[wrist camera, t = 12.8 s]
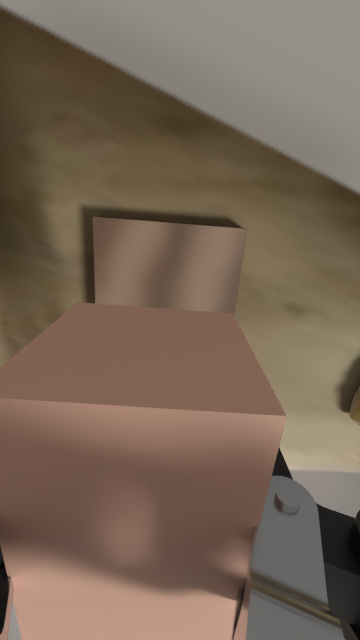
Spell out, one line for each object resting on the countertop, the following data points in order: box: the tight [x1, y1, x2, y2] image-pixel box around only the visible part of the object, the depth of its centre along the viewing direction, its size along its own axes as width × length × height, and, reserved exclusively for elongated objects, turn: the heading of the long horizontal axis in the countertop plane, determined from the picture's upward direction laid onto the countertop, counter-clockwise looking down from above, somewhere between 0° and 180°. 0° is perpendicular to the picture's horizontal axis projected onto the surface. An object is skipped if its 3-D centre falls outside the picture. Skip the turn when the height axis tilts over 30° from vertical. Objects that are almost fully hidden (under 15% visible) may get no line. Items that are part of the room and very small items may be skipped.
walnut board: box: [93, 217, 247, 315], centre depth 25 cm, size 12×14×2 cm
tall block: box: [0, 302, 287, 640], centre depth 8 cm, size 5×5×10 cm
